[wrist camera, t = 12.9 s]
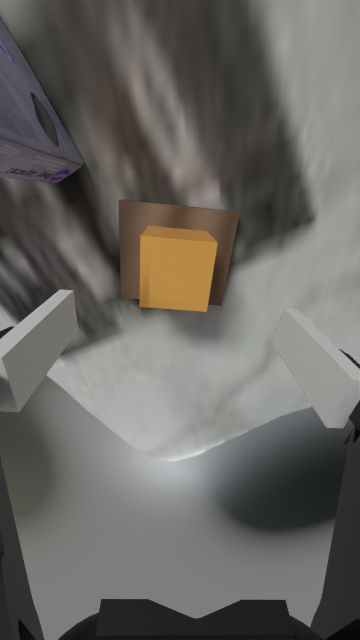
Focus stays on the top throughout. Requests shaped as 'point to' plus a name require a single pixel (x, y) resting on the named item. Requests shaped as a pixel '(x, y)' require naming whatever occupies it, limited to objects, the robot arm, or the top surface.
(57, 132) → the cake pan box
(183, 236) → the orange cube block
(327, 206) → the top surface
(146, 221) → the base plate
